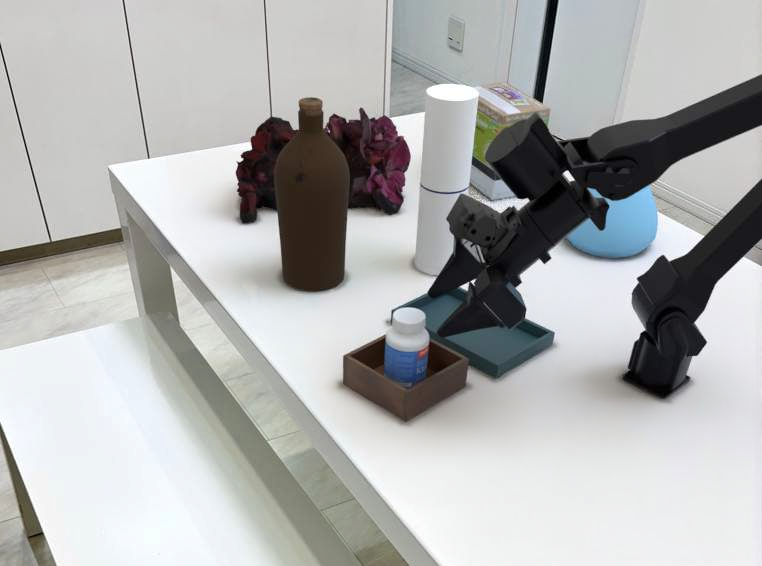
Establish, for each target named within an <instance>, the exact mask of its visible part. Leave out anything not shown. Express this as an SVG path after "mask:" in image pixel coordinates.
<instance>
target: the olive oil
mask: <svg viewBox="0 0 762 566" xmlns="http://www.w3.org/2000/svg"><path fill="white" fill-rule="evenodd" d="M323 104H324V103H323V100H322V99H321V98H318V97H313V96H309V97H302V98H300V99H299V100H298V108H299V109H298V111H297V116H298V132H297V133H296V134H295V136H294V137H293V138H292V139H291V140H290V141H289V142H288V143H287V145H286V146H285V147H284V148H283V149H282V151H281V152H280V154H279V155H278V158H277V161H276V164H275V169H274V184H275V194H276V203H277V210H276V211H277V224H278V233H279V245H280V246H279V247H280V258H281V260H280V261H281V270H282V271H281V272H282V279H283V282H285V283H286V284H287V285H289V287H292V288H293V289H295V290H296V289H297V290H300V291H306V292H320V291H326V290H330V289H333V288H336V287H338V286H339V285H340V284H341V283H342V282H343V281H344V280H345V273H346V271H345V270H346V249H347V248H346V246H347V230H348V211H349V209H348V198H349V184H350V173H349V167H348V164H347V160H346V158H345V156H344V154H343V152H342V151H341V150H340V148H339V147H338V146H337V145H336V144H335V143H334V142H333V141H332V140H331V139H330V137H329V136H328V135H327V134H326V133H325V131H324V113H325V112H324V111H323Z"/></svg>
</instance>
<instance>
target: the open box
mask: <svg viewBox="0 0 762 566" xmlns="http://www.w3.org/2000/svg"><path fill="white" fill-rule="evenodd" d="M385 343H386V333H385V334H383V335H381V336H378V337H377V338H375V339H374V340H370V341H369V342H367V343H365V344H363V345H362V346H359V347H358V348H355V349H353V350H351V351H349V352H348V353H345V354H344V355H342V385H344V386H345V387H347V388H349V389H351V390H352V391H353V392H355V393H357V394H358V395H361V396H362V397H364V398H366V399H367V400H369V401H371V402H372V403H374V404H375V405H377V406H378V407H380V408H381V409H383V410H385V411H386V412H388V413H390V414H391V415H394V416H395V417H397V418H398V419H400V420H402V421H403V422H405V423H407V422H408V421H410V420H412V419H414V418H415V417H417V416H418V415H421V414H422V413H424V412H426V411H427V410H429V409H431V408H433V407H434V406H436V405H438V404H439V403H441V402H442V401H444V400H446V399H448V398H449V397H451V396H453V395H454V394H456V393H458V392H459V391H461V390H463V389H464V388H466V387H467V380H468V374H469V373H468V371H469V365H470V364H469V358H467V357H465V356H463V355H461V354H459V353H458V352H456V351H454V350H452V349H450V348H448V347H446V346H444V345H442V344H440V343H439V342H437V341H435V340H433V339H431V338H429V349H428V360H427V371H426V379H425V380H424V381H422V382H420V383H418V384H417V385H415V386H413V387H411V388H409V389H408V390H407V389H406V388H404V387H402V386H401V385H399V384H397V383H396V382H394V381H392V380H390V379H389V378H387V377H385V376H384V362H385Z"/></svg>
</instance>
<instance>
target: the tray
mask: <svg viewBox="0 0 762 566" xmlns="http://www.w3.org/2000/svg"><path fill="white" fill-rule="evenodd" d="M467 293H468V289H465V288H462V286H460V287H458V288H456V289H454V290H452V291H450V292H448V293H446V294H444V295H441V296H439V297H437V298H434V299H432V298H431V297H430V296H429V295H428V292H426V293H424V294H421V295H420V296H417V297H415V298H414V299H411V300H409V301H407V302H405V303H403V304H401V305H399V306H397V307H395V308H393V309H391V311H390V313H391V314H390V324H392V319H393V313H394V312H395V311H396V310H398V309H400V308H406V307H410V308H416V309H419V310H421V311H423V312H424V313H425V316H426V320H425V329H426V330H427V332H428V333H429V338H431V339H433V340H435V341H437V342H439V343H440V344H442V345H444V346H446V347H448V348H450V349H452V350H454V351H456V352H458V353H459V354H461V355H463V356H465V357H467V358H469V365H470V366H471V367H473V368H475V369H477V370H479V371H481V372H482V373H485V374H487V375H488V376H491V377H492V378H494V379H498V378H500V377H502V376H503V375H505V374H507V373H509V372H510V371H512V370H513V369H515V368H517V367H518V366H520V365H521V364H523V363H525V362H527V361H528V360H530V359H532V358H534V357H535V356H537V355H538V354H540V353H542V352H543V351H545V350H548V349H549V348H550V347H552V346H553V345H554V341H555V334H556V332H555V331H553V330H551V329H549V328H547V327H545V326H542V325H540V324H538V323H536V322H534V321H532V320H530V319H527V318H526V317H525V320H524V321H522V322H521V323H520V324H518V325H517V326H516V327H515V328H513V329H512V330H510V329H509V328H508V327H507V326H506V327H504V328H500V327H499V326H497V327H491V328H485V329H479V330H474V331H469V332H465V333H461V334H457V335H453V336H449V337H444V338H441V337H440V336H439V335H438V334H437V332H436V331H437V329H438V328H439V327H440V326H441V325H442V323H443V322H444V321H445V320H446V319H447V318H448V317H449V316H450V315H451V314H452V313H453V312H454V311H455V310H456V309H457V308H458V307H459V306H460V305H461V304H462V303H463V302H464V301H465V300H466V298H467Z"/></svg>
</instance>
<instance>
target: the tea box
mask: <svg viewBox="0 0 762 566" xmlns="http://www.w3.org/2000/svg"><path fill="white" fill-rule="evenodd" d="M471 87H472V88H474V89H476V90H477V91H478V92H479V97H478V106H477V116H476V125H475V134H474V144H473V153H472V162H471V172H470V181H469V184H471V185H472V186H473V187H475V188H476V189H477V190H479V191H480V192H481V193H482V194H483V195H484V196H486V197H487V198H488V199H490V200H491V201H498V200H503V199H508V198H513V197H516V196H515V195H514V194H513V193H512V192H511V190H510V189H509V188H508V187H507V186H506V184H505V183H504V182H503V181H502V180H501V178H500V177H499V176H498V175H497V174H496V173H495V171H494V170H493V169H492V168H491V167H490V165H489V164H488V163H487V162H486V160H485V154H486V151H487V149H488V147H489V145H490V144H491V142H492V141H493V140H494V139H495V137H496V136H497V135H498V134H499V133H500V132H501V131H502V130H503V129H504V128H506V127H510V126H511V125H513V124H514V123H516V122H518V121H521V120H527V119H528V118H529V117H530V116H532V115H533V114H534V113H535V112H537V113H538V114H539V115H540V116H541V118H542V119H543V121H544V122H545V124H546V125H547V127H548V126H549V121H550V115H551V109H552V108H551V107H549V106H547V105H546V104H544V103H542V102H540V101H539V100H537V99H536V98H534V97H532V96H530V95H529V94H527V93H526V92H524V91H522V90H520V89H518V88H517V87H515V86H514V85H512V84H510V83H508V82H506V81H500V82H494V83H487V84H482V85H481V84H480V85H475V86H471ZM548 128H549V127H548Z"/></svg>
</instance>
